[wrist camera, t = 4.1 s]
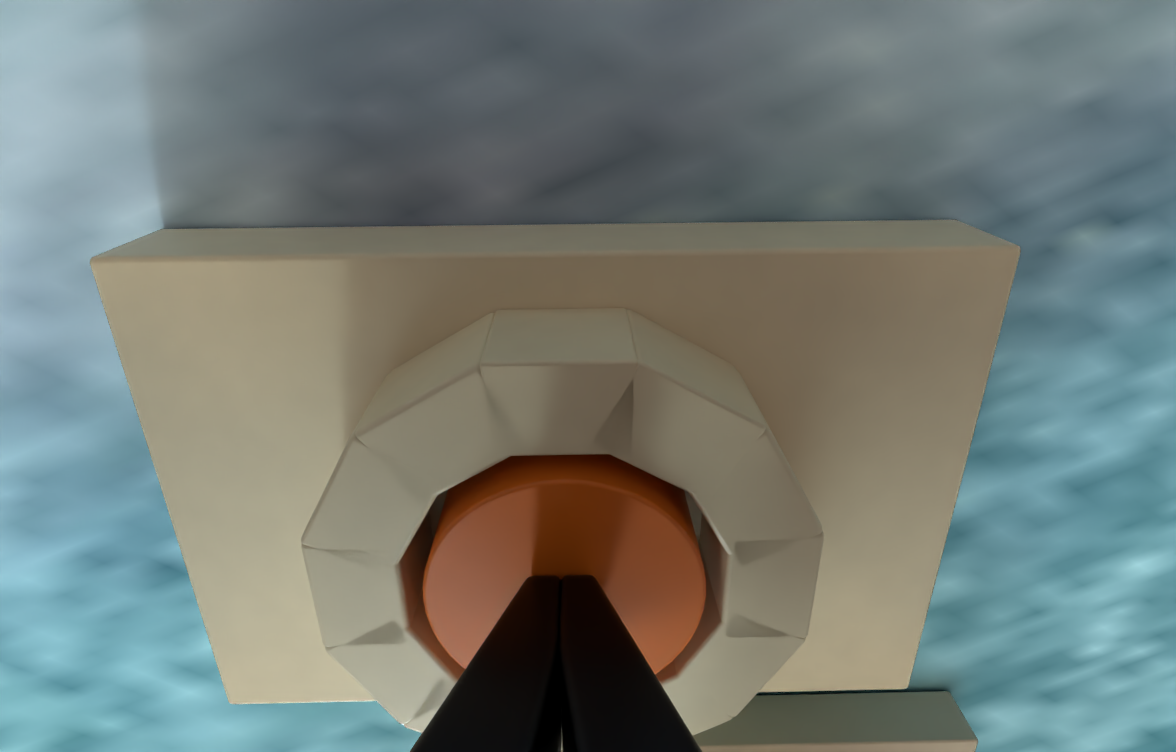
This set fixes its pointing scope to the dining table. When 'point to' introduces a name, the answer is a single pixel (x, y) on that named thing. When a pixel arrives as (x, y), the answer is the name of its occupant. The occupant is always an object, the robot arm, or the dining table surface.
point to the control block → (559, 428)
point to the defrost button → (566, 549)
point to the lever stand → (844, 724)
